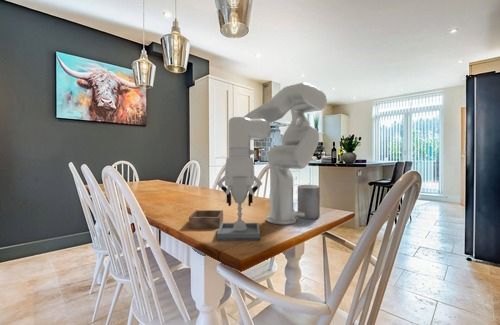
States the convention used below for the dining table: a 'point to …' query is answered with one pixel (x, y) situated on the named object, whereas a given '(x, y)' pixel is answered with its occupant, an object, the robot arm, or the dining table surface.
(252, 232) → the tray
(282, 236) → the dining table surface
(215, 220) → the brown square frame
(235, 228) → the chalice
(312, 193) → the pillar candle
